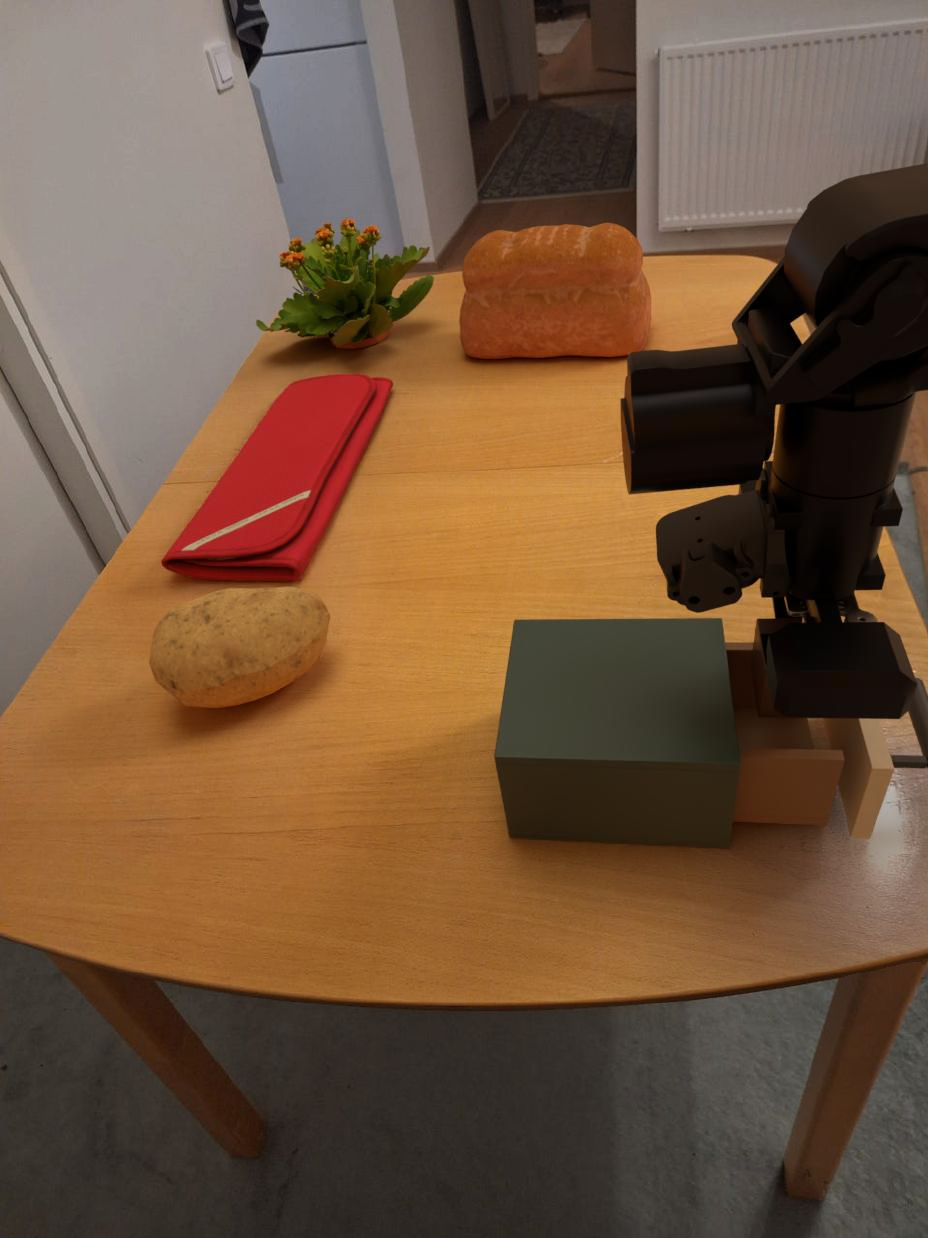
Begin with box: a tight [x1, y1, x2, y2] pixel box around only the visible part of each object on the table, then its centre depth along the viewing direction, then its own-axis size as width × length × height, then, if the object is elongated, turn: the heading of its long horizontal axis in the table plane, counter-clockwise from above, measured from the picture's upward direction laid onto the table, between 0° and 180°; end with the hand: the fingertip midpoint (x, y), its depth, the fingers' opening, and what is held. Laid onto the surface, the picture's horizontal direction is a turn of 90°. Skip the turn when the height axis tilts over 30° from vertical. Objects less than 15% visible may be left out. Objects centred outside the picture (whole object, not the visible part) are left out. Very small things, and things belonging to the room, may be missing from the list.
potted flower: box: [255, 218, 435, 350], centre depth 120 cm, size 25×24×18 cm
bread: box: [458, 222, 652, 360], centre depth 109 cm, size 14×26×15 cm, turn 75°
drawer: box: [725, 641, 928, 840], centre depth 54 cm, size 18×11×7 cm, turn 82°
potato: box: [148, 586, 331, 709], centre depth 68 cm, size 10×14×10 cm
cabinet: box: [493, 617, 741, 850], centre depth 56 cm, size 15×13×9 cm
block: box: [751, 617, 803, 718], centre depth 50 cm, size 4×4×4 cm
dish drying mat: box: [160, 373, 394, 583], centre depth 96 cm, size 16×41×4 cm, turn 171°
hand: (793, 680), depth 51 cm, fingers closed on block, 4 cm apart
